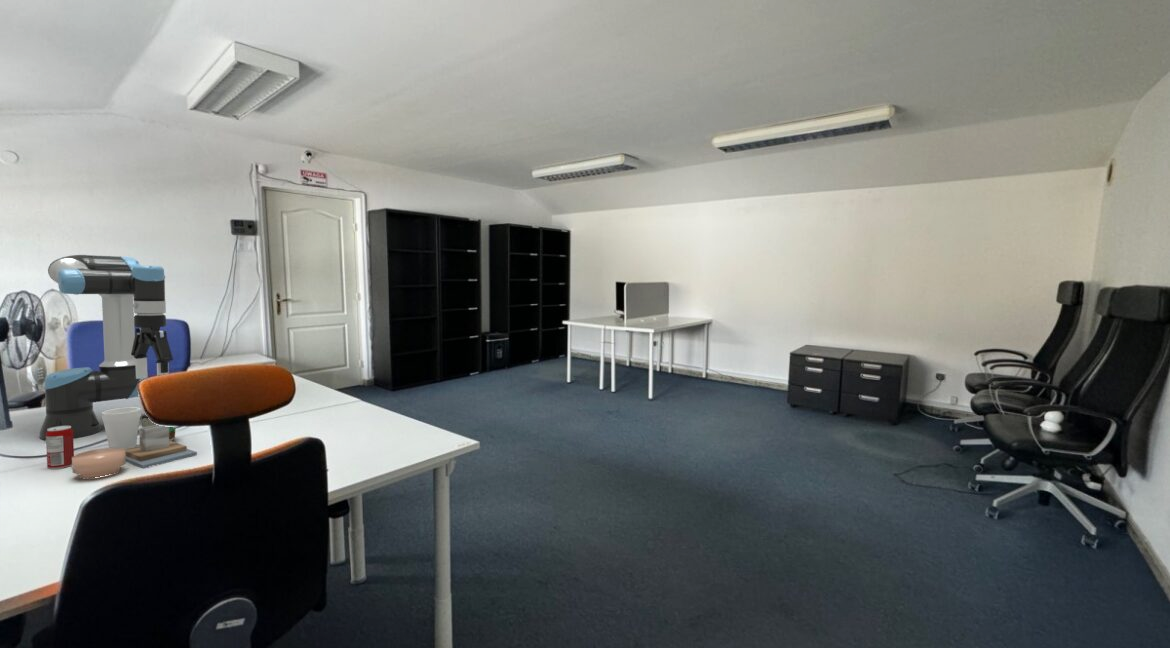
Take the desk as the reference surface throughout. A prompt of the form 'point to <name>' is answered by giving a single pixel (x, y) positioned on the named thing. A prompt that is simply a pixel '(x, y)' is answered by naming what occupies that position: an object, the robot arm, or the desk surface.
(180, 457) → the mat
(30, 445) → the desk surface
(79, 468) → the bowl
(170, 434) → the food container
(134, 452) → the lid
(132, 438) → the foam cup
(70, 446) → the soda can
